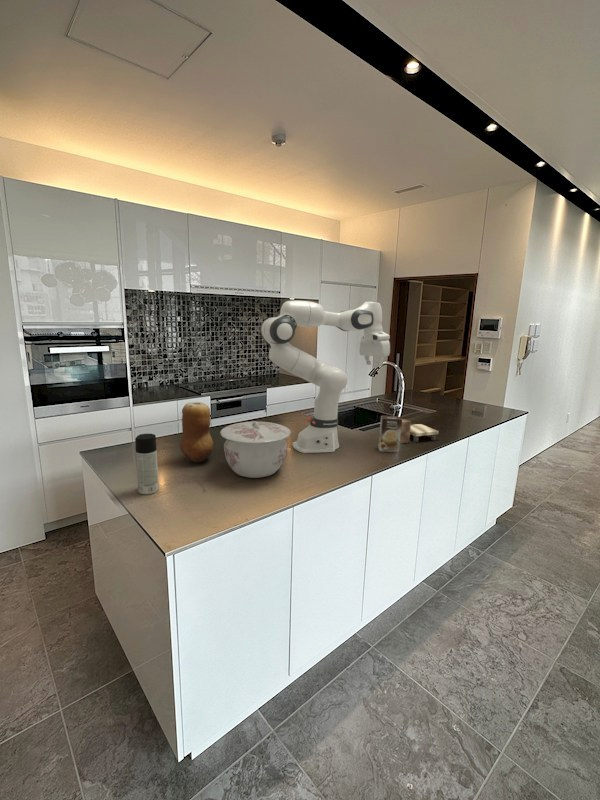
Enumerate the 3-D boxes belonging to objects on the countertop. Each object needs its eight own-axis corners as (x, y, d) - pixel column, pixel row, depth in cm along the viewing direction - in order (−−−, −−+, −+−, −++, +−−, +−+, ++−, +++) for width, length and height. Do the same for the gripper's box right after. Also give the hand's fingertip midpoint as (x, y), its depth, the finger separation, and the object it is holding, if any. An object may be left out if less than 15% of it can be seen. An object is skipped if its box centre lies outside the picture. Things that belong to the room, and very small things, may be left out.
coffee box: (379, 451, 180) (381, 418, 177) (378, 447, 186) (380, 415, 183) (399, 452, 179) (402, 419, 176) (397, 448, 186) (400, 416, 182)
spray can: (161, 486, 138) (158, 433, 134) (155, 495, 131) (151, 439, 127) (142, 486, 138) (139, 432, 133) (135, 495, 131) (131, 439, 127)
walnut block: (400, 443, 193) (402, 422, 190) (394, 440, 197) (396, 419, 195) (409, 442, 195) (411, 421, 192) (403, 439, 199) (405, 419, 197)
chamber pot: (264, 492, 136) (265, 436, 131) (205, 475, 149) (204, 423, 144) (303, 466, 160) (304, 418, 155) (249, 454, 172) (249, 409, 168)
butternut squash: (220, 459, 165) (219, 402, 160) (197, 469, 154) (195, 408, 149) (196, 452, 172) (194, 398, 167) (173, 462, 161) (170, 403, 155)
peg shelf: (415, 443, 194) (416, 433, 193) (398, 434, 207) (399, 425, 206) (437, 440, 199) (438, 431, 198) (420, 432, 212) (421, 423, 211)
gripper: (355, 336, 191) (356, 364, 194) (380, 336, 173) (381, 367, 175) (366, 336, 194) (367, 363, 196) (392, 335, 176) (392, 365, 178)
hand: (374, 365), depth 186 cm, fingers open, 8 cm apart
